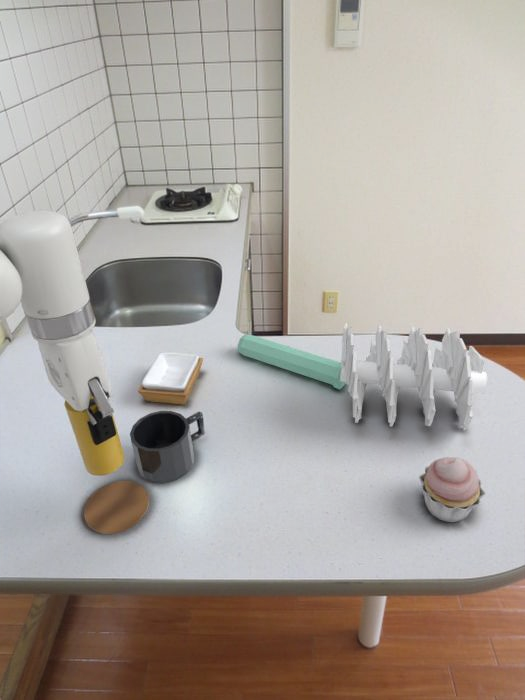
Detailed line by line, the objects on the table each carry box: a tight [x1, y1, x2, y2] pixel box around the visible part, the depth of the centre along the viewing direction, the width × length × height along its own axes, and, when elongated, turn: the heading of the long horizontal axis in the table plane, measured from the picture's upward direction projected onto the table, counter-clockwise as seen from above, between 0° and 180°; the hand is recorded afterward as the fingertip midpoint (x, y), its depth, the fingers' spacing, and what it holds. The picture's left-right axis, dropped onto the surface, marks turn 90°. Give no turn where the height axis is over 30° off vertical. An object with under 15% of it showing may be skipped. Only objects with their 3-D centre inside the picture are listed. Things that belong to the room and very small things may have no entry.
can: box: [64, 395, 125, 477], centre depth 74 cm, size 6×6×12 cm
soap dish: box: [137, 351, 204, 405], centre depth 106 cm, size 12×10×5 cm
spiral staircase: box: [340, 322, 488, 431], centre depth 93 cm, size 18×18×25 cm
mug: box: [129, 410, 206, 484], centre depth 89 cm, size 13×10×8 cm
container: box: [237, 333, 346, 391], centre depth 110 cm, size 6×6×25 cm
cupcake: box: [418, 456, 486, 523], centre depth 78 cm, size 9×9×10 cm
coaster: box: [83, 480, 150, 535], centre depth 83 cm, size 10×10×1 cm
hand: (94, 426), depth 73 cm, fingers closed on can, 5 cm apart
